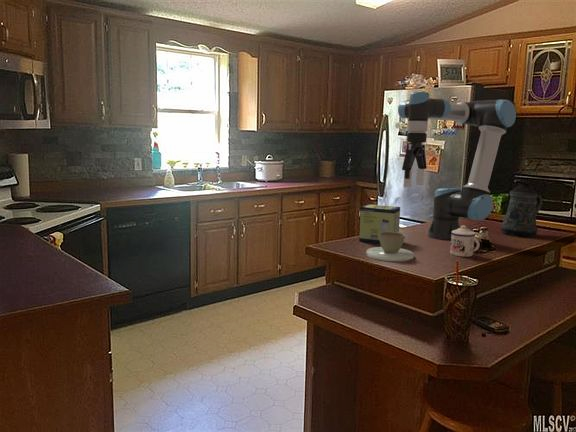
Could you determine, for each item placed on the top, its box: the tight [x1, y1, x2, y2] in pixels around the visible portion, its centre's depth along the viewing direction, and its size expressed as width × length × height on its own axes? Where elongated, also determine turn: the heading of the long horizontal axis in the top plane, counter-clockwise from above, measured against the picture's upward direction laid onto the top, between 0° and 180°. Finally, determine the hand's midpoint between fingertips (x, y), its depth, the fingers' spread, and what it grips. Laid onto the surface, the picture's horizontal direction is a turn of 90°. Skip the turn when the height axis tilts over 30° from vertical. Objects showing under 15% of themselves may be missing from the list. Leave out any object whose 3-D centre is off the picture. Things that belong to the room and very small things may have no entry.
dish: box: [366, 246, 415, 263], centre depth 196 cm, size 18×18×2 cm
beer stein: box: [500, 182, 543, 238], centre depth 247 cm, size 16×19×25 cm
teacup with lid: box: [449, 225, 480, 258], centre depth 200 cm, size 12×9×12 cm
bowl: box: [379, 232, 406, 253], centre depth 196 cm, size 10×10×7 cm
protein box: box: [358, 203, 401, 245], centre depth 222 cm, size 10×16×16 cm
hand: (413, 186), depth 201 cm, fingers open, 13 cm apart
